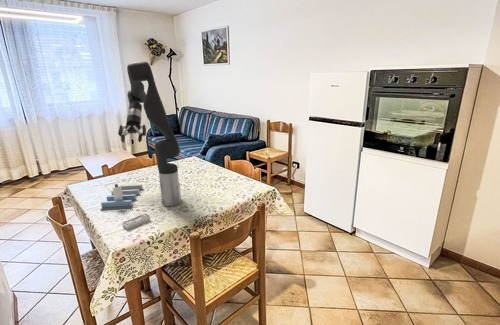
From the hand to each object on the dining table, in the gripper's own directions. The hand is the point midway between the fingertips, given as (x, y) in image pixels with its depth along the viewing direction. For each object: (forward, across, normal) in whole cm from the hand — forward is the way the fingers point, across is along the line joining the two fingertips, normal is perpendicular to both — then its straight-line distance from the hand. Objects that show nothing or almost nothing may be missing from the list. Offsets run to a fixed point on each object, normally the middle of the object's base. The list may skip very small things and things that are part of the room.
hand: (131, 141), depth 148 cm
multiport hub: (+49, +10, -8) cm, 51 cm away
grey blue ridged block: (+29, -4, +11) cm, 31 cm away
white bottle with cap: (+33, -4, +6) cm, 34 cm away
